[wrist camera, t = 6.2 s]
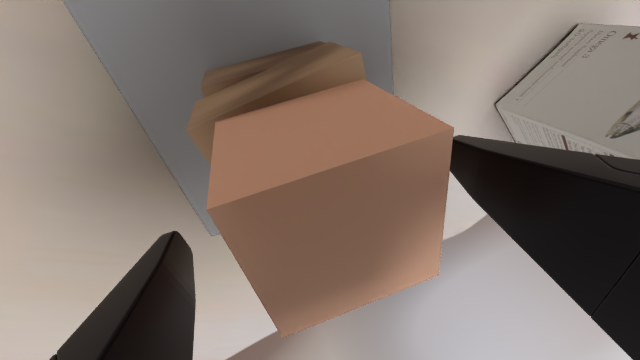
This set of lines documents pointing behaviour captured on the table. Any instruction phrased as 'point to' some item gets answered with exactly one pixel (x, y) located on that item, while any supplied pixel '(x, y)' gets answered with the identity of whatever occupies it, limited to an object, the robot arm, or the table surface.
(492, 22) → the table surface
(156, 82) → the felt mat
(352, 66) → the tower top
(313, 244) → the terracotta block
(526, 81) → the supplement box
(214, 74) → the block
